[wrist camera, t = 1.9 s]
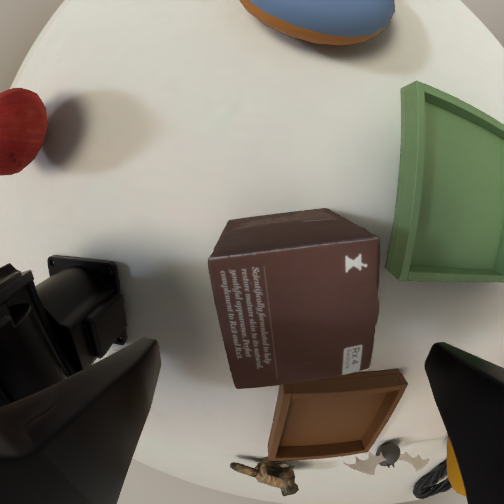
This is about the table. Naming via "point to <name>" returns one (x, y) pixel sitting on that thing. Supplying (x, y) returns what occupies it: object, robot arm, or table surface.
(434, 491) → the cable
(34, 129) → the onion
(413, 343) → the table surface
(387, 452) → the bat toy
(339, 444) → the walnut tray
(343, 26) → the doughnut
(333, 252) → the box
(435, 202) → the produce tray
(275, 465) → the cat figurine
